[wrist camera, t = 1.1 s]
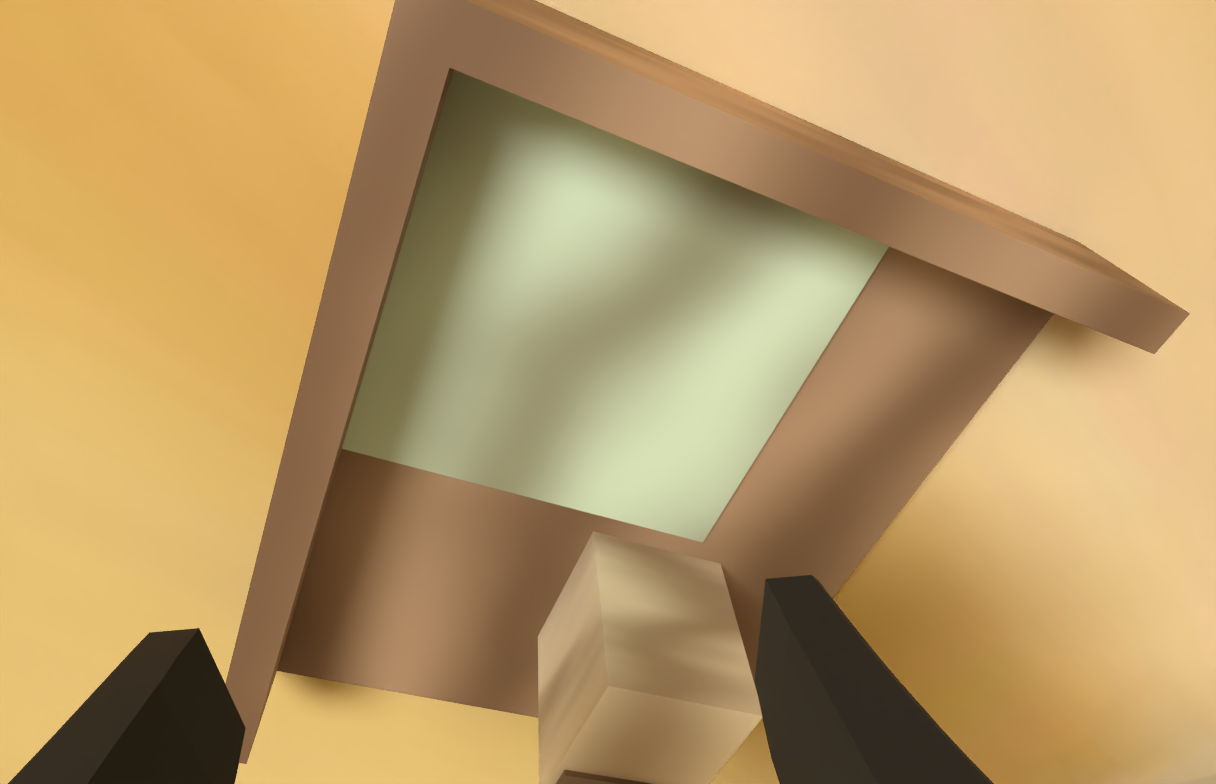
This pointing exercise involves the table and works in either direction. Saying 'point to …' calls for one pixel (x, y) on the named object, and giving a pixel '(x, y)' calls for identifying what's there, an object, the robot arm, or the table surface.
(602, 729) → the block
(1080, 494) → the table surface
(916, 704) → the robot arm
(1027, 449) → the table surface
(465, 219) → the arena
